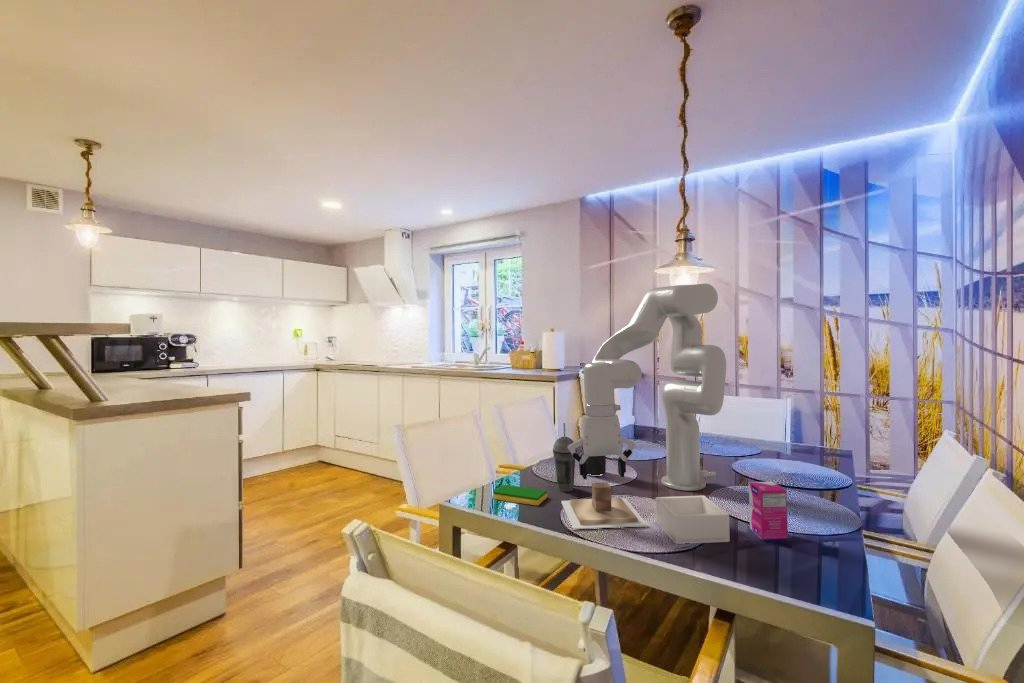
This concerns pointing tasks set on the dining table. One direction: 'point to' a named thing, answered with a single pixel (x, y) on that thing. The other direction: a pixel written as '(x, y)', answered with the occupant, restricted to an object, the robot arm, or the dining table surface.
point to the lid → (602, 507)
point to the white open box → (692, 519)
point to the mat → (577, 525)
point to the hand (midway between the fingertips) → (602, 476)
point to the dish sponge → (520, 494)
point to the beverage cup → (564, 463)
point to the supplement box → (768, 511)
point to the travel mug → (595, 464)
